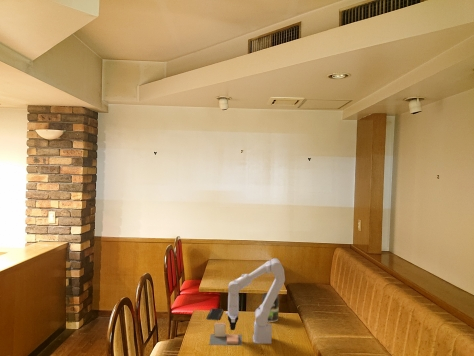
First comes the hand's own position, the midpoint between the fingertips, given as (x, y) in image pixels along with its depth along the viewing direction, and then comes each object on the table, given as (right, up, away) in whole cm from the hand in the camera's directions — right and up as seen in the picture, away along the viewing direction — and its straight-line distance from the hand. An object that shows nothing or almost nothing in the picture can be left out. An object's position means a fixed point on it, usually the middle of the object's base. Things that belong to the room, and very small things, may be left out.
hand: (232, 329), depth 178 cm
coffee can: (+23, -5, +26) cm, 35 cm away
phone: (-11, -5, +29) cm, 32 cm away
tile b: (-7, -5, +3) cm, 9 cm away
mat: (-4, -5, -1) cm, 7 cm away
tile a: (0, -4, +2) cm, 5 cm away
